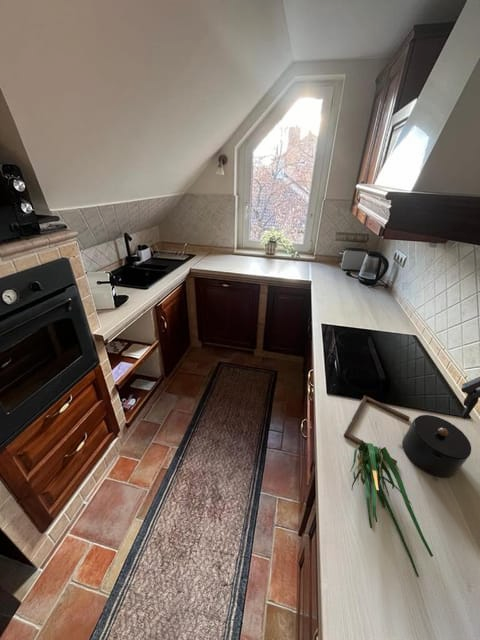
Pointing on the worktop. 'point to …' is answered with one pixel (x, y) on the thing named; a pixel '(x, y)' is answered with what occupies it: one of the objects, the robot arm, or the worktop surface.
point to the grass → (373, 473)
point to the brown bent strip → (365, 398)
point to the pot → (436, 446)
